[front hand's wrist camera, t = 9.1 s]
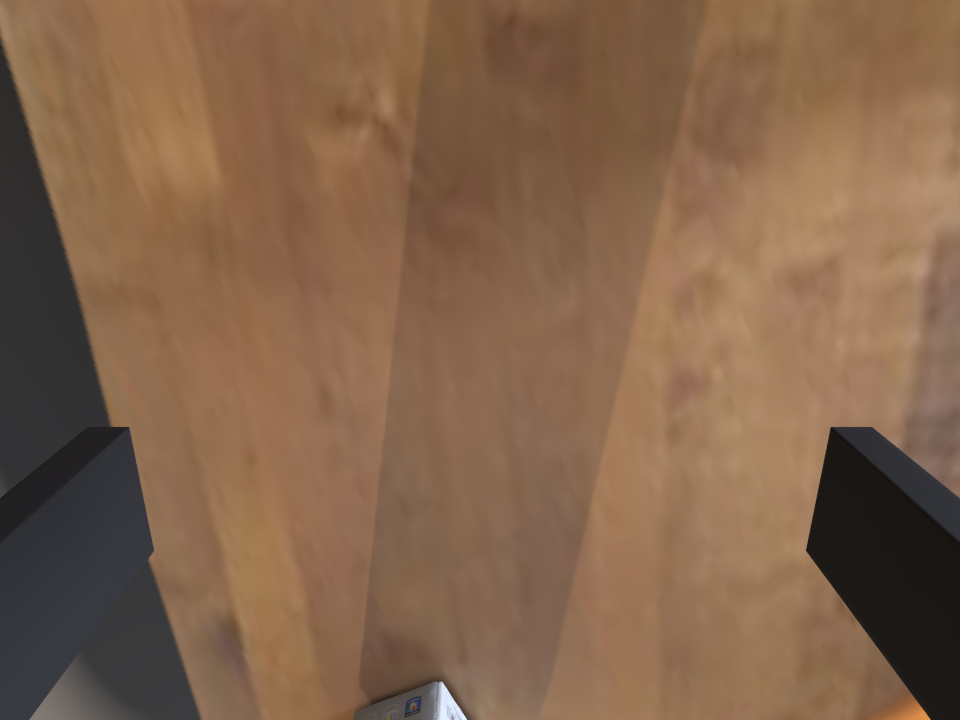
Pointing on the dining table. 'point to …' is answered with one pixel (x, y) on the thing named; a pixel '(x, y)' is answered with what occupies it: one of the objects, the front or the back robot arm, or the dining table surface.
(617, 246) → the dining table surface
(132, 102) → the dining table surface
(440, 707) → the hard drive box
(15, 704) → the front robot arm
